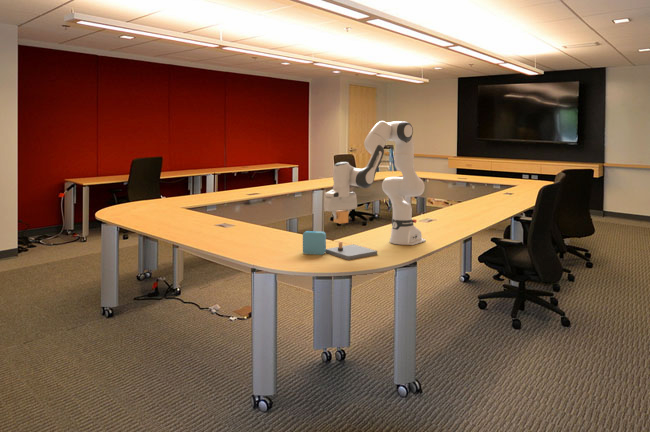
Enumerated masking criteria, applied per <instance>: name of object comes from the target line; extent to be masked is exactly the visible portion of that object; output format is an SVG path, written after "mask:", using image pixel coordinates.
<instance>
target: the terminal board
mask: <svg viewBox="0 0 650 432" xmlns="http://www.w3.org/2000/svg"><path fill="white" fill-rule="evenodd" d="M325 253H326V254H328V255H331V256H335V257H338V258H341V259H345V260H347V261H350V260H357V259H362V258H367V257H371V256H376V255H378V250H376V249H371V248H368V247H365V246H361V245H358V244H348V245H343V241H339V242H338V246H337V247H336V246H335V247H331V248H330V247H329V248H326V252H325ZM325 253H324V254H325Z"/></svg>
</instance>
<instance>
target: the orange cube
mask: <svg viewBox="0 0 650 432" xmlns="http://www.w3.org/2000/svg"><path fill="white" fill-rule="evenodd" d="M336 215H337V216H338V219H334V218H333V223H337V224H339V225H340V224H346V223H349V214H348V211H346V210H340V211H336Z"/></svg>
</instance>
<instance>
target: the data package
mask: <svg viewBox="0 0 650 432" xmlns="http://www.w3.org/2000/svg"><path fill="white" fill-rule="evenodd" d="M326 249H327V234H326V232H325V231H323V230H322V231H319V230H318V231H316V230H315V231H314V230H312V231H311V230H306V231H304V232H303V233H302V253H303V254H305V255H314V256H315V255H318V256H319V255H320V256H322V255H324V254H325V252H326Z"/></svg>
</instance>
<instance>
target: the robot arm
mask: <svg viewBox="0 0 650 432" xmlns="http://www.w3.org/2000/svg"><path fill="white" fill-rule="evenodd" d="M413 134H414V127H413V126H412V124H411V123H410V122H408V121H399V120H398V121H397V120H396V121H395V120H394V121H389V122H386V121H385V120H380V121H378V122H377V123H376V124H374V125H373V126H372V128H371V130H370V131H369V132H368V134H367V135H366V137H365V138H364V142H363V146H364V149H365V150H366V152H368V153H369V154H370V158H369V160H368V161H367V165H366V166H365V167H363V168H358V167H354V166H352V165H351V164H350V163H349V161H340V162H337V163H335V164H334V166H333V170H332V171H333V173H332V179H333V186H332V189H330V190H328V191H326V192H325V193H324V195H325V198H324V201H323V202H324V203H323V209H324V211H325V212H331V214H332V215H333V220H334V219H338V216H337V215H336V211H340V210H343V211H348V215H349V214H350V213H351V210H357V208H358V198H357V193H356V192H355V191H350V189H351V188H350V186H353V187H358V188H359V187H360V188H364V189H368V188H370V187H371V186H372V184H373V183H374V181H375V178H376V177H375V176H376V173H377V171H378V169H379V166H380V164H381V161H382V159H383V158H384V153H385V149H384V147H385V146H386V143H388V141H390V142H395V143H394V144H395V148H394V167H395V169H396V170H397V171H400V172H401V174H402V176H389V177H385V178H384V179H383V181H382V183H381V189H382V191H383V193H384V194H385V195H386V196H387V197H388V198H389V200H390V203H391V206H392V219H391V233H390V237H389V243H390V244H394V245H403V246H404V245H407V246H409V245H410V246H414V245H418V244H421V243H425V242H426V239H425V238H423V235H422V231H421V230H420V229H419V228H418V227H416V226H415V225H414V223H415V224H416V223H417V221H418V220H417V219H414V218H413V219H412V216H413V215H412V213H413V210H412V209H413V206H412V205H411V203H409V202H408V201H406V200H405V198H404V197H418V196H421V195H423V193H424V191H425V189H426V188H425V182H424V181H423V180H422V179H421V178H420V177H419V175H418V174H417V172H416V170H415V161H414V159H415V144H414V138H413Z"/></svg>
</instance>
